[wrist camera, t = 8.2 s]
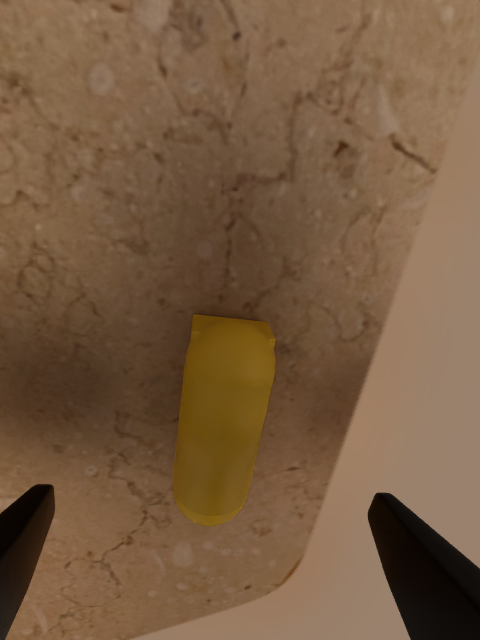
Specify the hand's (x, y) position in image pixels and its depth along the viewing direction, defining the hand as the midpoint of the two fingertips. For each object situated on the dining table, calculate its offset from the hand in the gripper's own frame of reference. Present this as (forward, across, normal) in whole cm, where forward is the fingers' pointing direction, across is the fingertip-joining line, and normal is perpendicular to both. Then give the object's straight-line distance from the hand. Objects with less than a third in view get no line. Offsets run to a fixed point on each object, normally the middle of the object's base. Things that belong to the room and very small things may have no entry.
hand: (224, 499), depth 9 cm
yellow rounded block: (+5, 0, 0) cm, 5 cm away
